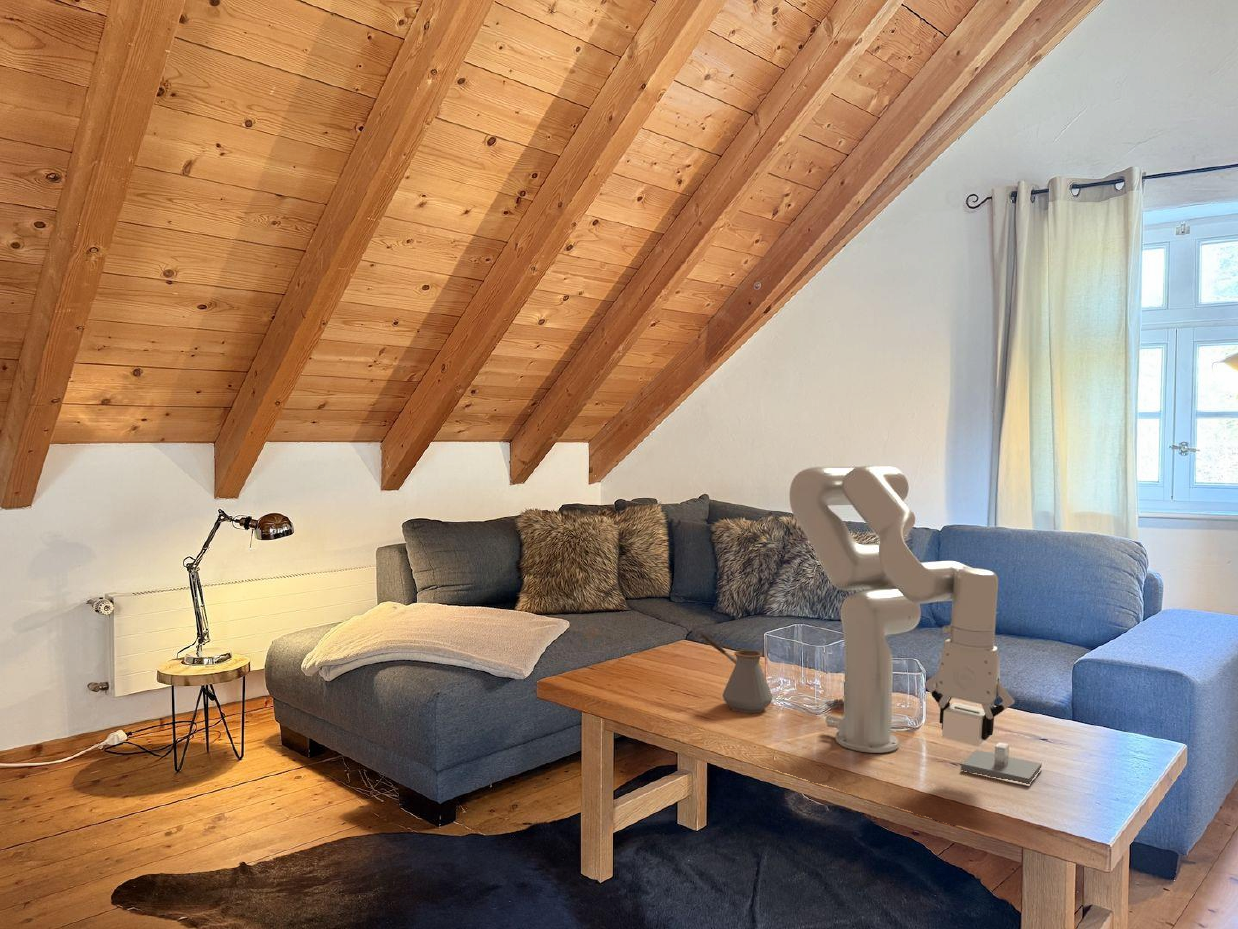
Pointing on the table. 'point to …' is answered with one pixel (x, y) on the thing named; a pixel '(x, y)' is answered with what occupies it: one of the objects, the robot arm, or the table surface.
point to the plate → (1001, 767)
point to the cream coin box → (963, 723)
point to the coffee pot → (745, 681)
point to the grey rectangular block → (1001, 754)
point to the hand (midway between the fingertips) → (965, 732)
